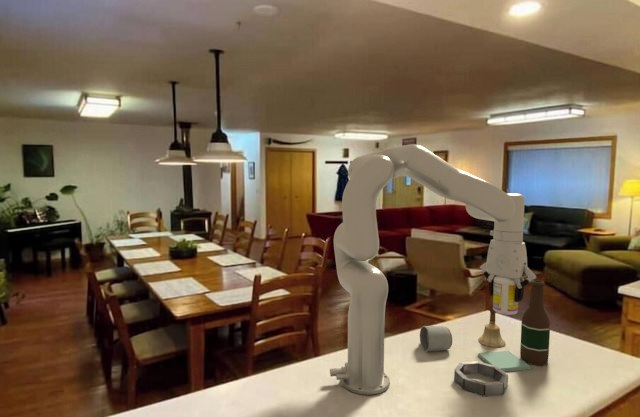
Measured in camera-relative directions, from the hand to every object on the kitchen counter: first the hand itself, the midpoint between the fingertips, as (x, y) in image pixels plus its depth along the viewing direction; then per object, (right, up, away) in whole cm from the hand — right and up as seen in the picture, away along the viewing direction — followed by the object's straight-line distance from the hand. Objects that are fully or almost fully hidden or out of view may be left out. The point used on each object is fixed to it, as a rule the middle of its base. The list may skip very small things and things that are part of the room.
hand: (505, 297), depth 119 cm
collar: (-11, -21, -10) cm, 25 cm away
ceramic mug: (-18, -19, +12) cm, 29 cm away
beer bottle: (+10, -20, +3) cm, 22 cm away
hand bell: (+3, -19, +16) cm, 25 cm away
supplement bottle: (0, -4, 0) cm, 4 cm away
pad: (0, -20, +2) cm, 20 cm away
